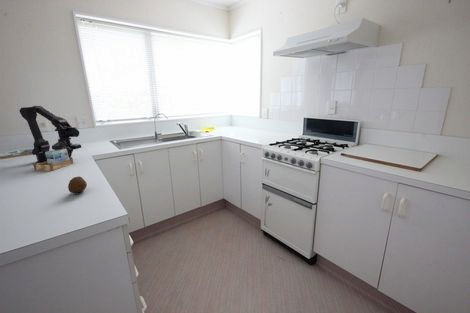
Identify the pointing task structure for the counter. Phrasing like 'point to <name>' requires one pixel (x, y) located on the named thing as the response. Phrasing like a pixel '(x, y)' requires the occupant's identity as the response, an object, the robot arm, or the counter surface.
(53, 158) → the light bulb box
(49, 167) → the wooden frame
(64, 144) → the robot arm
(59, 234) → the counter surface
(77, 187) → the potato
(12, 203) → the counter surface
